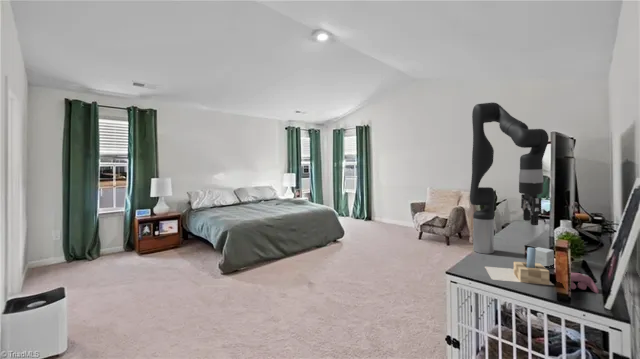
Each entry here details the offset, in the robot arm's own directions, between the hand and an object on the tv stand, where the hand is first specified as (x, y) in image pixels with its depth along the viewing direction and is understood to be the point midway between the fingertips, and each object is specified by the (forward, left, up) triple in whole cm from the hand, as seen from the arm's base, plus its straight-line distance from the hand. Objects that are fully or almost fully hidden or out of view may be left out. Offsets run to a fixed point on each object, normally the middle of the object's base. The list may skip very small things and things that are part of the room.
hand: (530, 222), depth 112 cm
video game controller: (+7, +12, -23) cm, 27 cm away
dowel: (+1, 0, -22) cm, 22 cm away
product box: (-18, +10, -23) cm, 30 cm away
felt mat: (-2, -4, -22) cm, 23 cm away
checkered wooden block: (+1, 0, -22) cm, 22 cm away
